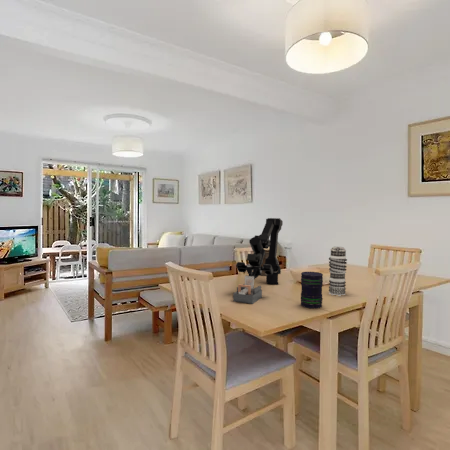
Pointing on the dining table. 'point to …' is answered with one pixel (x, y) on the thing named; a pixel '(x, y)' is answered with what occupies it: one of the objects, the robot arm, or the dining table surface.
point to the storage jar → (311, 289)
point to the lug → (244, 286)
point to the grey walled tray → (248, 295)
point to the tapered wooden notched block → (248, 281)
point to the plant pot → (264, 261)
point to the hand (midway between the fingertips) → (250, 282)
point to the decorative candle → (337, 271)
